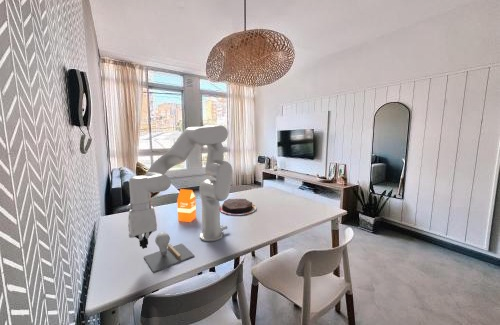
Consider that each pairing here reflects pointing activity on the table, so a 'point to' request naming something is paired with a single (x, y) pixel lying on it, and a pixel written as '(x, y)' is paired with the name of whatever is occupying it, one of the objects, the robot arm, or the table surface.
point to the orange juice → (186, 205)
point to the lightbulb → (162, 242)
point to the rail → (174, 251)
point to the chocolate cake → (237, 207)
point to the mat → (167, 258)
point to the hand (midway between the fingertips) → (144, 246)
